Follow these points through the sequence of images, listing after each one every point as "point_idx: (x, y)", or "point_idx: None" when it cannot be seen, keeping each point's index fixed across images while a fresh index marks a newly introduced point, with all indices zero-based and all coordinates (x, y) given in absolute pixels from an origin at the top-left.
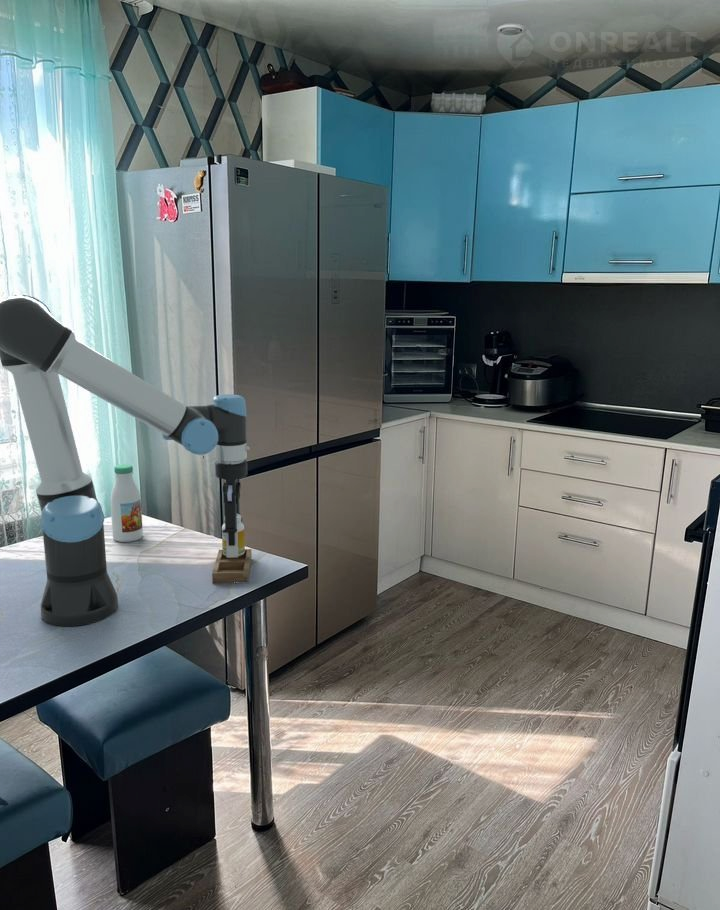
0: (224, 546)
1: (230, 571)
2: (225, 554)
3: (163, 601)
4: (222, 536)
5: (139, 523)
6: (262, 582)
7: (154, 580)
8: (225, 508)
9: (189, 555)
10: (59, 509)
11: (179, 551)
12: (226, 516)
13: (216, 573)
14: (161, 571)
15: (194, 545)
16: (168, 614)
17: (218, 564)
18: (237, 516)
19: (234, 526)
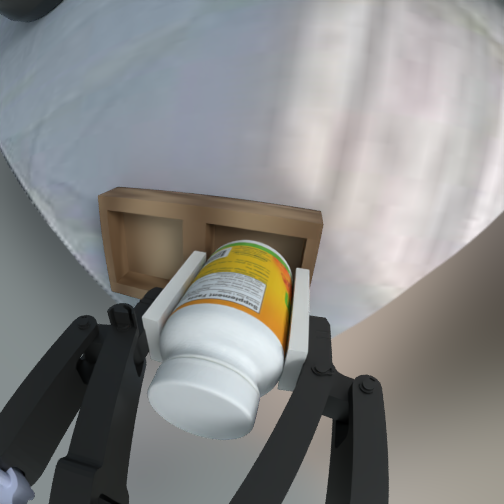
0: (208, 263)
1: (180, 242)
2: (216, 250)
3: (49, 86)
4: (210, 281)
5: None
6: (133, 306)
7: (157, 13)
8: (6, 409)
9: (382, 102)
10: None
11: (426, 74)
12: (32, 378)
13: (99, 208)
14: (228, 12)
15: (471, 138)
16: (16, 118)
17: (161, 215)
18: (182, 424)
19: (77, 367)
